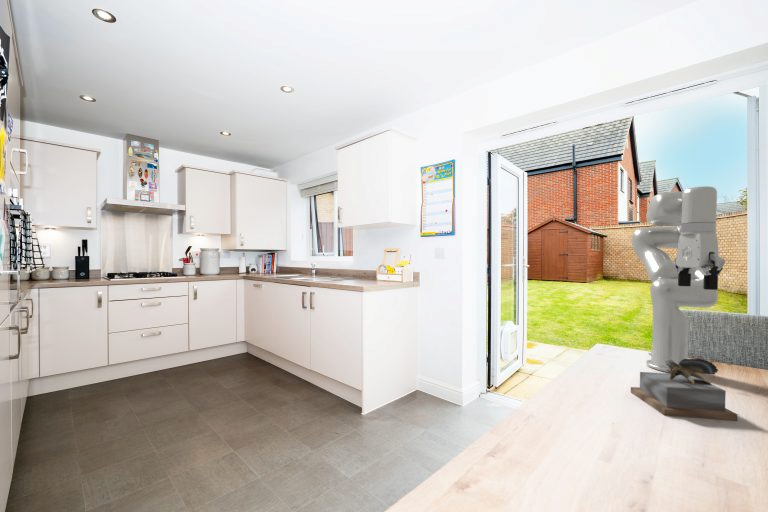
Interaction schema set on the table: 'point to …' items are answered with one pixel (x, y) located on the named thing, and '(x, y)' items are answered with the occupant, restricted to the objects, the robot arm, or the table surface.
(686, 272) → the robot arm
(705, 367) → the eagle figurine
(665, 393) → the pedestal
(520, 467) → the table surface
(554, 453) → the table surface
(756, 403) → the table surface
